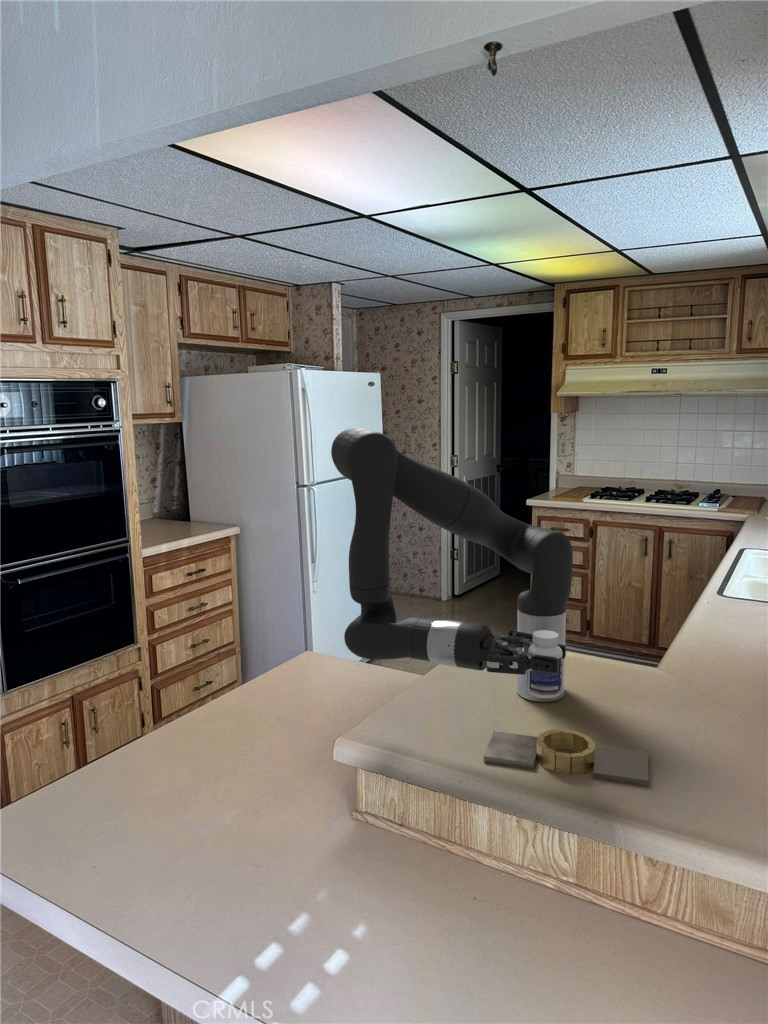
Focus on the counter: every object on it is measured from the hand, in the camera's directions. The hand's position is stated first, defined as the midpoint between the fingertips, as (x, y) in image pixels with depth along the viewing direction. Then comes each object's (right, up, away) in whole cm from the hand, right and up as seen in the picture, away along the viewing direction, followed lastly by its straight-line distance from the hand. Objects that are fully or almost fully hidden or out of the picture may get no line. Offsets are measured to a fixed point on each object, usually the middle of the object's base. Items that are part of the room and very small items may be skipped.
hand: (561, 658), depth 109 cm
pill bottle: (-2, -6, +2) cm, 7 cm away
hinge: (+2, -17, +4) cm, 18 cm away
